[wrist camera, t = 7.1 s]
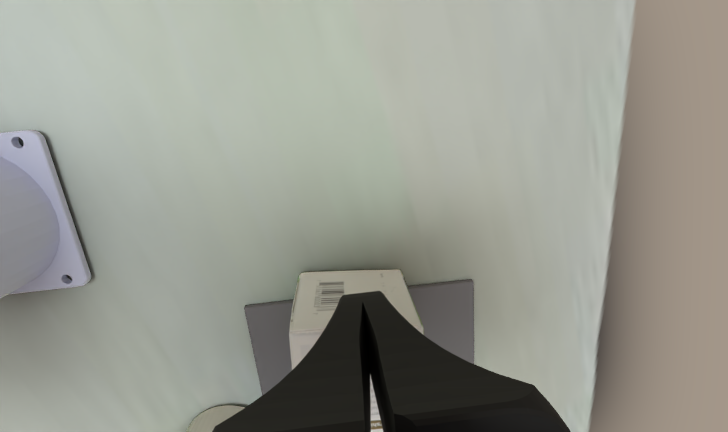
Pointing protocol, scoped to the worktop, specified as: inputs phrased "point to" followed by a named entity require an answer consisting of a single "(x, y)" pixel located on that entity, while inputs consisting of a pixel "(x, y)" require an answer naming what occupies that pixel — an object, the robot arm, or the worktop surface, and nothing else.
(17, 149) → the robot arm
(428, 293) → the mat
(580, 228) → the worktop surface
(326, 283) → the syrup box
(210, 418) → the canister
